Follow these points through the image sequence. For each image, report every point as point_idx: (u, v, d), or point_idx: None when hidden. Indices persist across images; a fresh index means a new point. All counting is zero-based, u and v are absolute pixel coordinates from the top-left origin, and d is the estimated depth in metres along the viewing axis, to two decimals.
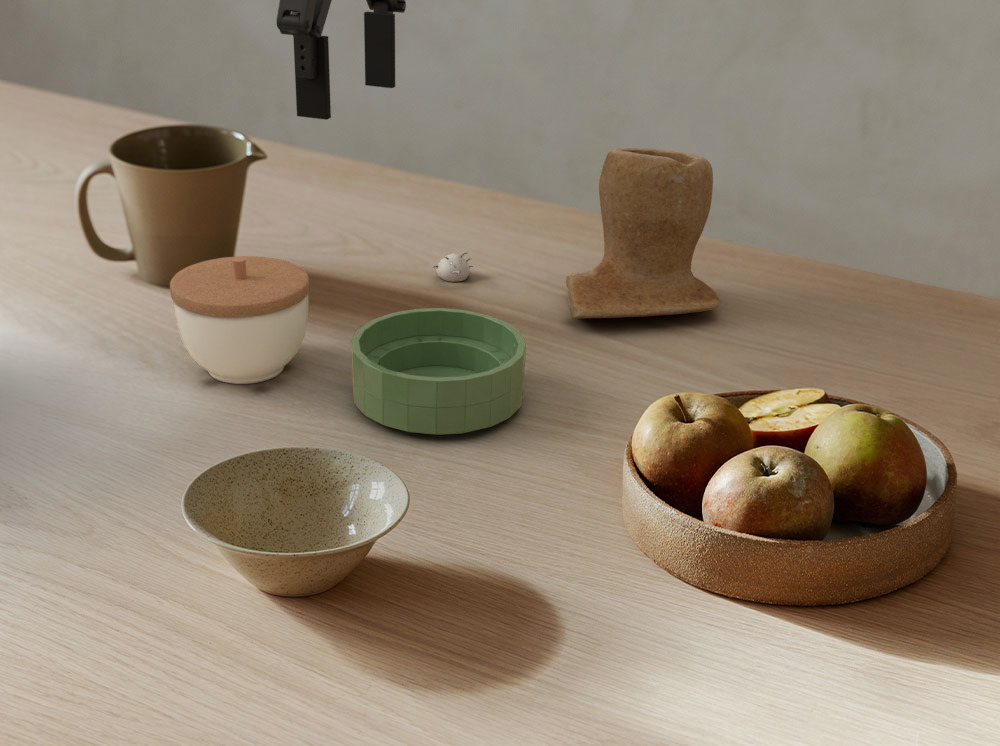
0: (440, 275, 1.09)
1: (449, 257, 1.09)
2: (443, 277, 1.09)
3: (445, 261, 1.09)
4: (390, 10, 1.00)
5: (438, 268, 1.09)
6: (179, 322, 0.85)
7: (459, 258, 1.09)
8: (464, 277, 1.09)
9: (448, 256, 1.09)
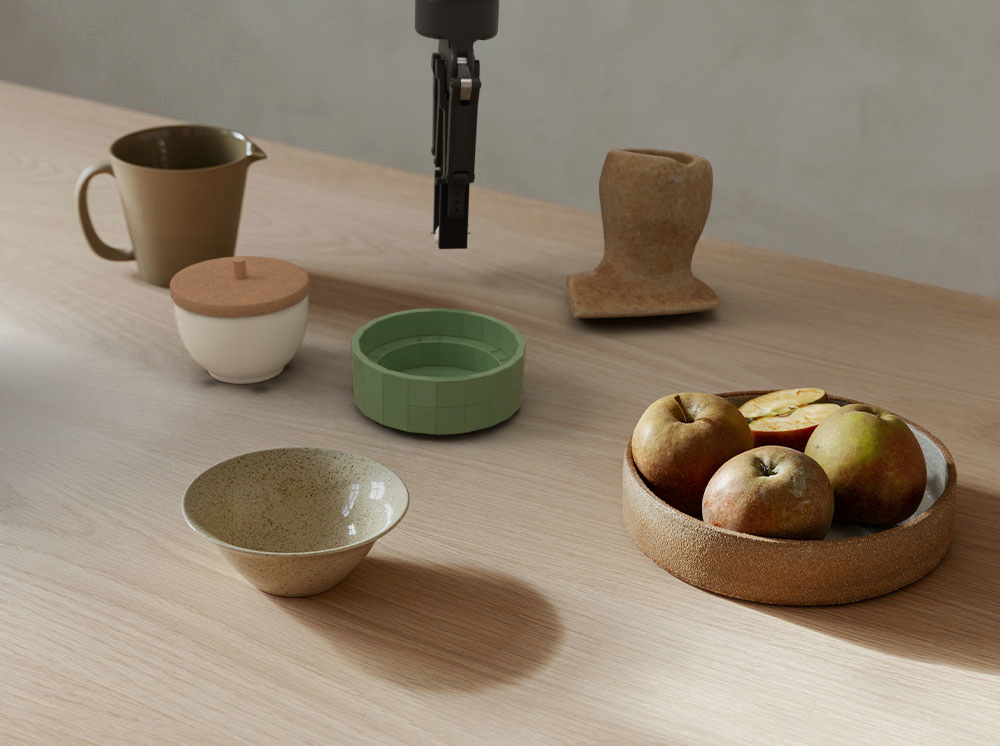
0: (437, 241, 1.07)
1: None
2: None
3: None
4: None
5: (435, 234, 1.07)
6: (179, 322, 0.85)
7: None
8: None
9: None
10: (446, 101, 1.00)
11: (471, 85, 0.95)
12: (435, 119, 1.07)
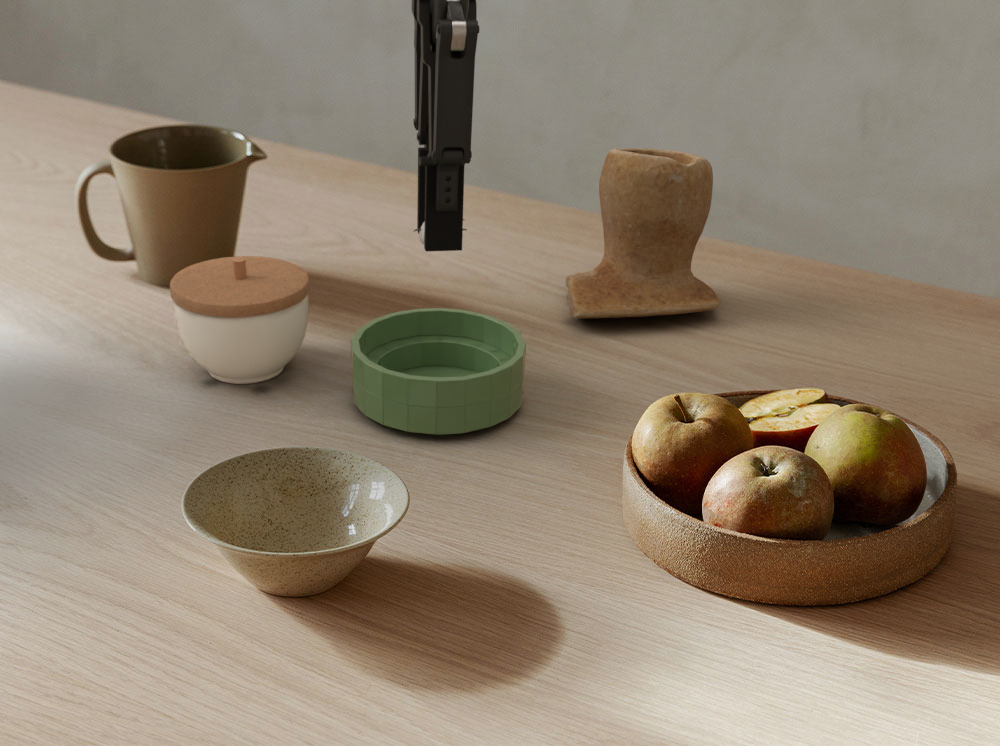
0: None
1: None
2: None
3: None
4: None
5: (421, 232, 0.82)
6: (179, 322, 0.85)
7: None
8: None
9: None
10: (432, 54, 0.75)
11: (466, 29, 0.70)
12: (418, 81, 0.82)
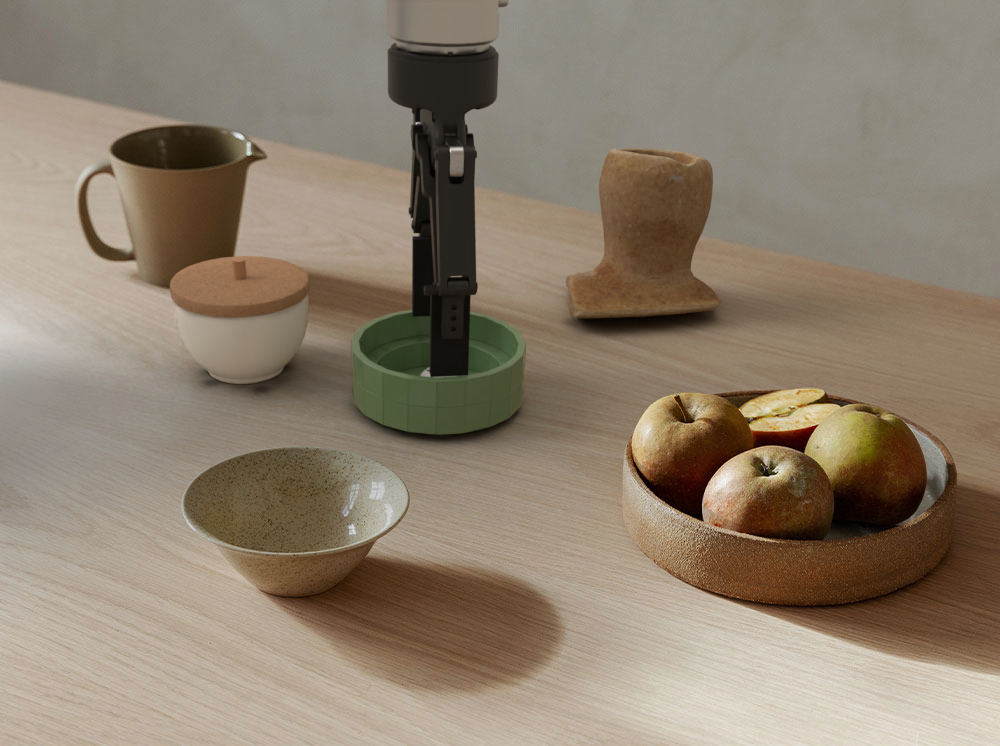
0: None
1: None
2: None
3: (428, 375, 0.85)
4: None
5: None
6: (179, 322, 0.85)
7: None
8: None
9: None
10: (432, 184, 0.75)
11: (463, 152, 0.71)
12: (414, 182, 0.85)
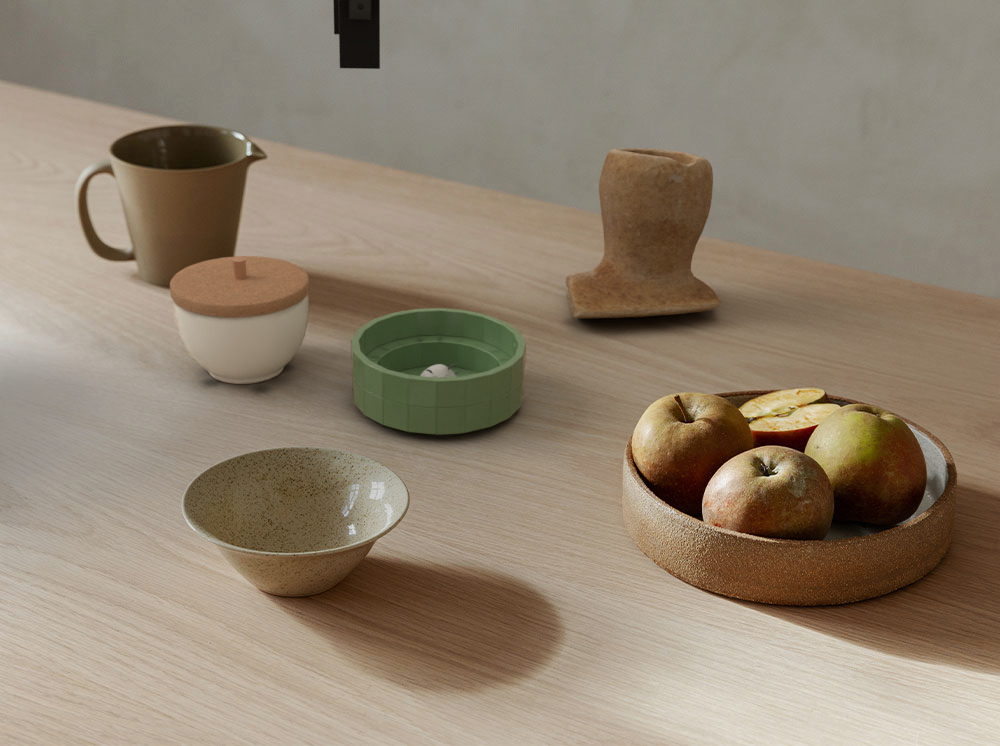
0: None
1: (433, 369, 0.85)
2: None
3: (428, 375, 0.85)
4: None
5: None
6: (179, 322, 0.85)
7: (446, 371, 0.85)
8: None
9: (432, 368, 0.85)
10: None
11: None
12: None
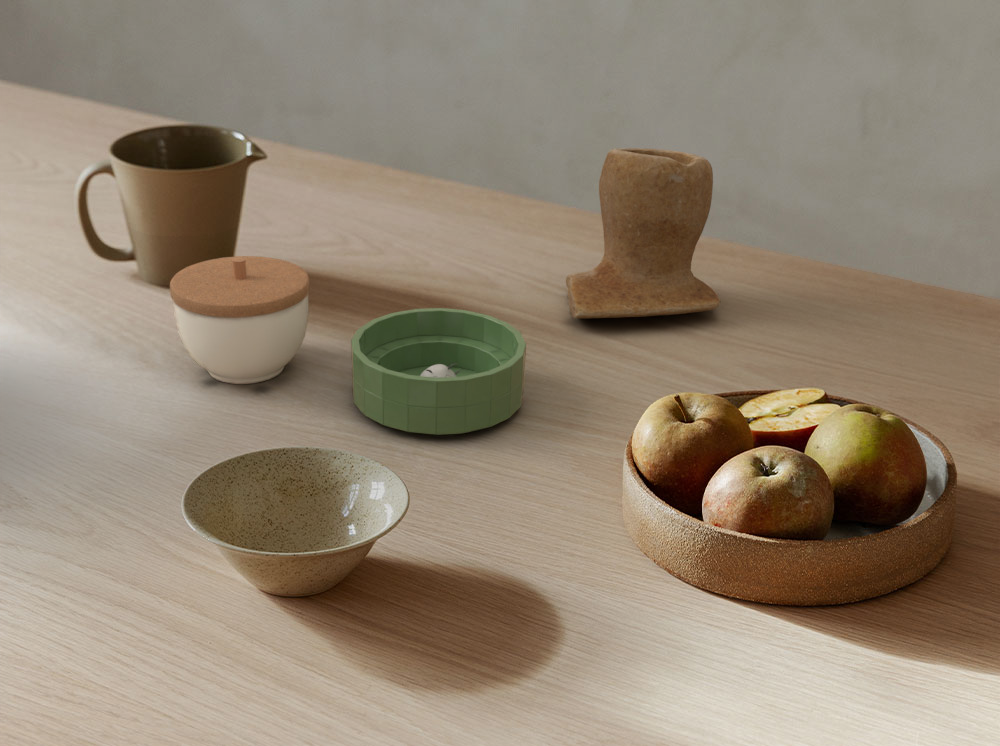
0: None
1: (433, 369, 0.85)
2: None
3: (428, 375, 0.85)
4: None
5: None
6: (179, 322, 0.85)
7: (446, 371, 0.85)
8: None
9: (432, 368, 0.85)
10: None
11: None
12: None
